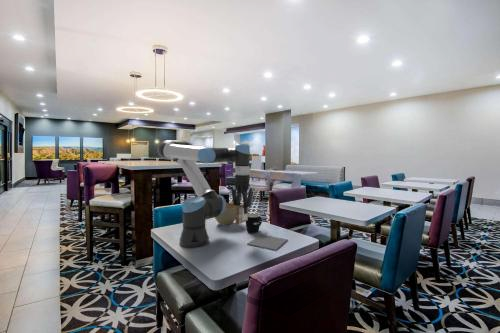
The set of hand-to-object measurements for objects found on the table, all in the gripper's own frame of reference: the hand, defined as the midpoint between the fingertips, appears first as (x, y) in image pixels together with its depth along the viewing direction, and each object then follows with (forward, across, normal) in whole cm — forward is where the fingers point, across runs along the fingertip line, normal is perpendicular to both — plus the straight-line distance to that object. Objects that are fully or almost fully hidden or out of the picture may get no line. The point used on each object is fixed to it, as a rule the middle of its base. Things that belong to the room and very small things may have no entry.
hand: (241, 219), depth 128 cm
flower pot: (+14, -28, +25) cm, 40 cm away
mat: (+13, +12, +8) cm, 19 cm away
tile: (+2, 0, 0) cm, 2 cm away
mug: (+13, -4, +21) cm, 25 cm away
